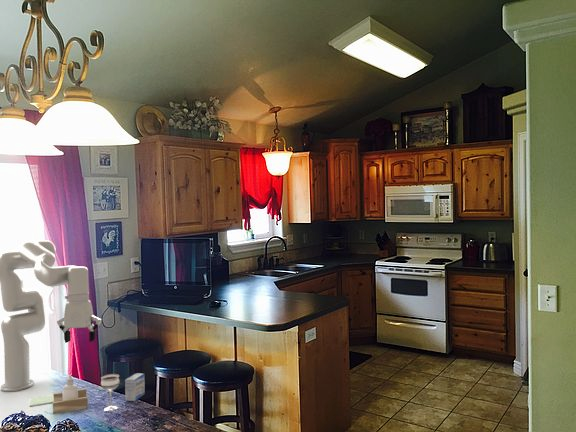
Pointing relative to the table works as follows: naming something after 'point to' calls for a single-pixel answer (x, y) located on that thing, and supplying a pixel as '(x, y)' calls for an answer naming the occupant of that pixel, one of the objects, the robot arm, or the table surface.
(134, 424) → the table surface
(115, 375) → the wineglass
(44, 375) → the table surface
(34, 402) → the sage mat
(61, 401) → the maple channel
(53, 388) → the table surface
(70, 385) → the eye dropper bottle
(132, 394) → the medicine box
